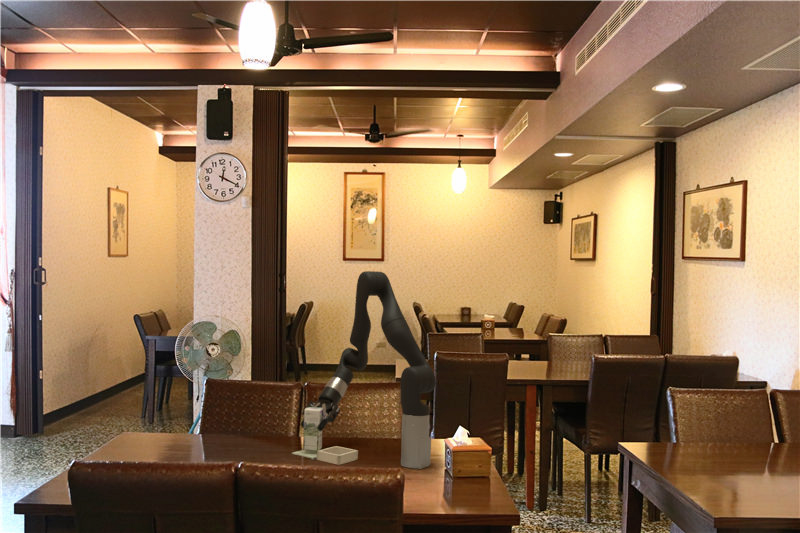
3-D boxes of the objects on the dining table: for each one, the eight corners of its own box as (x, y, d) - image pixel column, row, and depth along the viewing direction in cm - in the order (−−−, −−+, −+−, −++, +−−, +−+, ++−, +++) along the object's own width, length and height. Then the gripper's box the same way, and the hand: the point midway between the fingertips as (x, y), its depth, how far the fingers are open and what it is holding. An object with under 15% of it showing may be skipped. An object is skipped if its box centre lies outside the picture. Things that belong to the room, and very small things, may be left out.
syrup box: (322, 447, 221) (323, 407, 222) (318, 451, 215) (319, 409, 216) (306, 446, 222) (308, 406, 222) (302, 450, 216) (304, 409, 217)
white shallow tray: (360, 458, 214) (361, 449, 214) (335, 465, 203) (336, 456, 203) (314, 448, 226) (314, 440, 227) (288, 454, 216) (289, 446, 216)
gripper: (314, 383, 230) (291, 419, 220) (343, 387, 222) (320, 424, 212) (323, 396, 234) (301, 431, 224) (352, 400, 226) (330, 437, 216)
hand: (310, 428), depth 218 cm, fingers closed on syrup box, 7 cm apart
